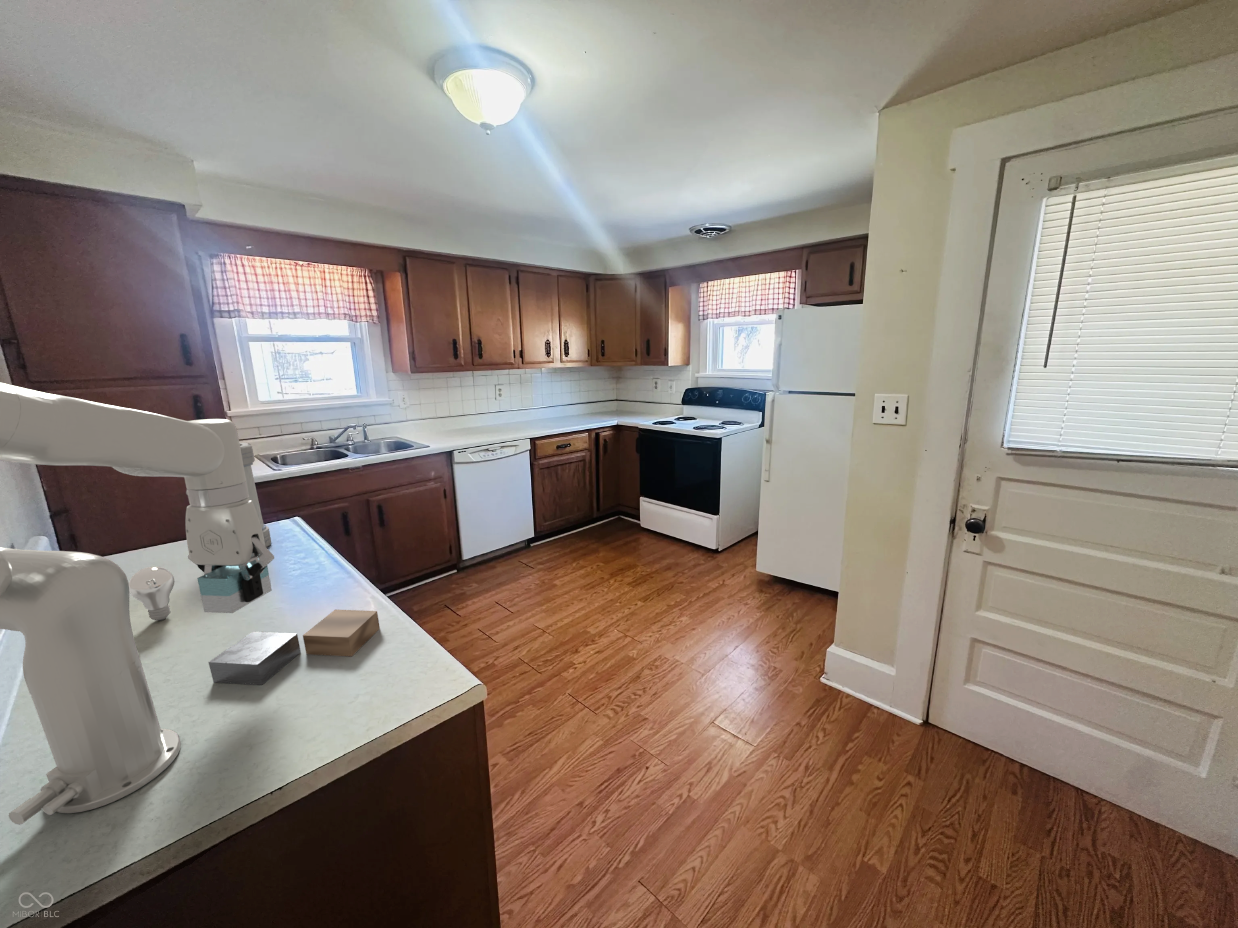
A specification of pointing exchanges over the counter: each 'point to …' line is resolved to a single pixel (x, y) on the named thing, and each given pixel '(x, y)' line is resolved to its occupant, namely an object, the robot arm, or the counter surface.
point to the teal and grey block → (227, 589)
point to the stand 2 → (341, 633)
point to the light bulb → (153, 590)
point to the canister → (253, 486)
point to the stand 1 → (255, 658)
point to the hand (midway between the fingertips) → (238, 596)
